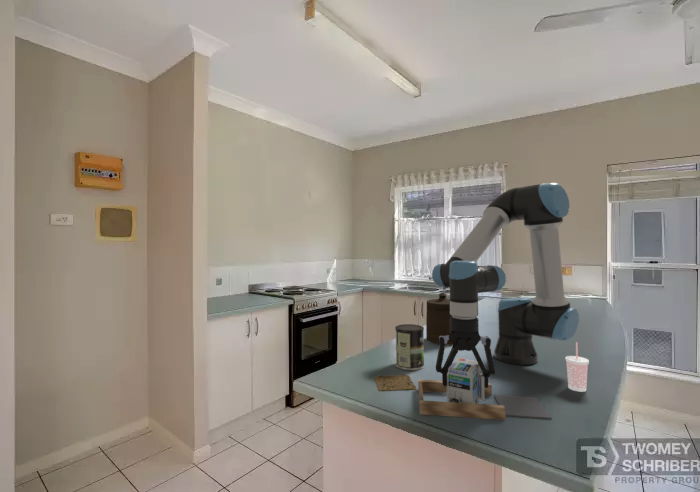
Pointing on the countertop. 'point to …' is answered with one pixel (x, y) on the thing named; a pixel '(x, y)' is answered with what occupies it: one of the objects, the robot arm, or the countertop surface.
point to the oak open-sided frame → (456, 404)
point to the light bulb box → (464, 381)
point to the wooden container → (438, 319)
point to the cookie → (394, 383)
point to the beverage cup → (577, 372)
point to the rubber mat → (522, 407)
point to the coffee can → (409, 347)
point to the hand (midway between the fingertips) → (465, 397)
